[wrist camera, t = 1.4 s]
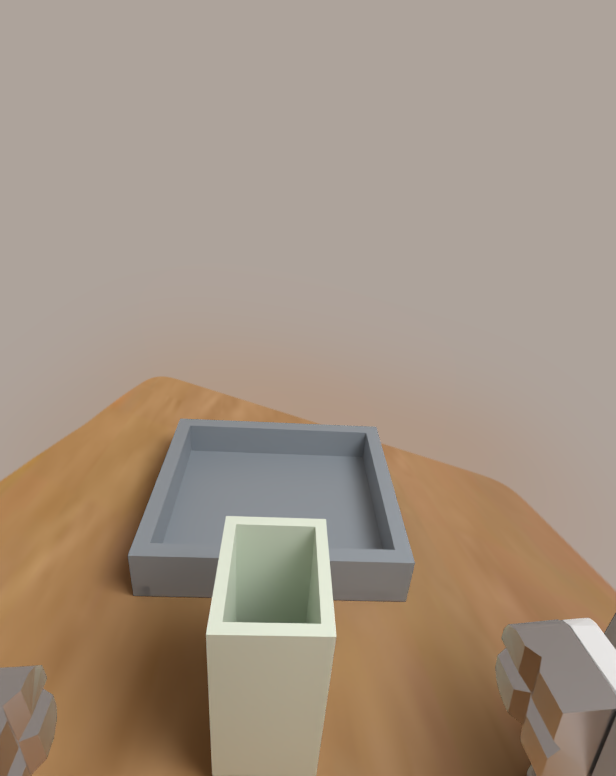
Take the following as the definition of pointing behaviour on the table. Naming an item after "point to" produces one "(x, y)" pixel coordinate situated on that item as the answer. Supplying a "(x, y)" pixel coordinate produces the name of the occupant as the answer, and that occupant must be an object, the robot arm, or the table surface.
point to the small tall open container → (270, 646)
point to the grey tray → (272, 505)
